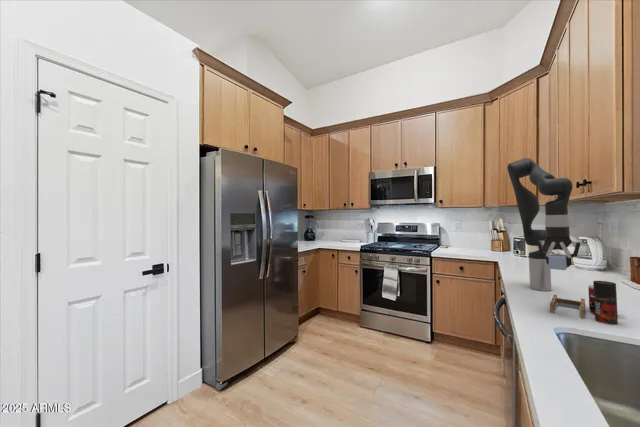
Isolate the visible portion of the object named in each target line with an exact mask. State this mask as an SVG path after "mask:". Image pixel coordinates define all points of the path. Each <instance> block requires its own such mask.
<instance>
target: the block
mask: <svg viewBox="0 0 640 427" xmlns="http://www.w3.org/2000/svg"><path fill="white" fill-rule="evenodd" d="M548 259H549V269H551V270H559V271H566V270H567V269H568V268H569V267H567V255H566V254H555V253H551V254H550V256H549V257H548Z"/></svg>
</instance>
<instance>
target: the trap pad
mask: <svg viewBox="0 0 640 427" xmlns="http://www.w3.org/2000/svg"><path fill="white" fill-rule="evenodd" d="M557 307H562V308H569V309H574V310H580V306H577V305H570V304H564V303H557Z"/></svg>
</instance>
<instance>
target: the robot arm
mask: <svg viewBox="0 0 640 427" xmlns="http://www.w3.org/2000/svg"><path fill="white" fill-rule="evenodd" d="M506 168H507V172H508V175H509V176H508V177H509V179H510V182H511V185H512V187H513V191H514V195H515V200H516V206H517V209H518V213H519V215H520V221H521V224H522V232H523V237H524V242H525V244H526V245H527V246H530V247H531V246H533V247H534V246H535V247H537V248H538V250H535V251H530V252H529V253H528V267H529V288H530V289H532V290H535V291H542V292H543V291H544V292H551V291H552V276H551V275H552V274H551V273H552V271H551V270H552V269H549V259H548V257H549V256H550V255H551V254H552V252H553V251H556V250H558V251H563V252H564V253H565V254H564V255H567V267H568V268H570V267H571V266H572V265H573V263H572V261H573V260H572V258H577V257H578V254H579V251H580V247H581V242H580V241H573V240H572V239H571V234H570V219H569V212H568V209H569V208H568V204H569V200H570V196H571V193H572V190H573V183H572V180H570V179H569V178H567V177H559V178H557V177H555V176H554V175H553V174H551V173H550V172H548V171H545V170H544V169H542V168H541V166H540V165H538V164H537V163H536V161H534V160H533V159H531V158H530V157H526V158H522V159H517V160H515V161H513V162H510V163H508V164H507V167H506ZM527 176H529V182H530V183H531V184H533V185H534V186H536V187H537V189H538V191H539V193H540V194H541V195H543V196H557V198H555V199H554V200H549V201H547V202H545V204H544V209H545V210H544V211H545V212H544V213H545V217H544V218H545V219H544V227H545V229H533V228H532V224H533V222H534V220H535V218H536V217H537V215H538V214H539V212H540V210H541V208H540V207H541V206H540V203H539V198H538V197H537V195H536V194H535V193H533V192H532V191H531V190H529V189H528V188H527V187H525V186H524V185H523V183H522V182H521V180H520V179H521V178H524V177H527ZM570 245H572V246H573V247H574V251H573V253H571V252H570V250H569V249H568V247H569V246H570Z"/></svg>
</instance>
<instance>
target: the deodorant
mask: <svg viewBox="0 0 640 427" xmlns="http://www.w3.org/2000/svg"><path fill="white" fill-rule="evenodd" d="M592 285H594V307H595V314H594V320H595V321H596V322H598V323H601V322H602V323H601V324H605V325H613V326H614V325H616V326H617V325H618V324H619V320H618V318H619V317H618V297H617V296H616V293H617V283H616V282H612V281H607V280H593V284H592Z"/></svg>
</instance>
